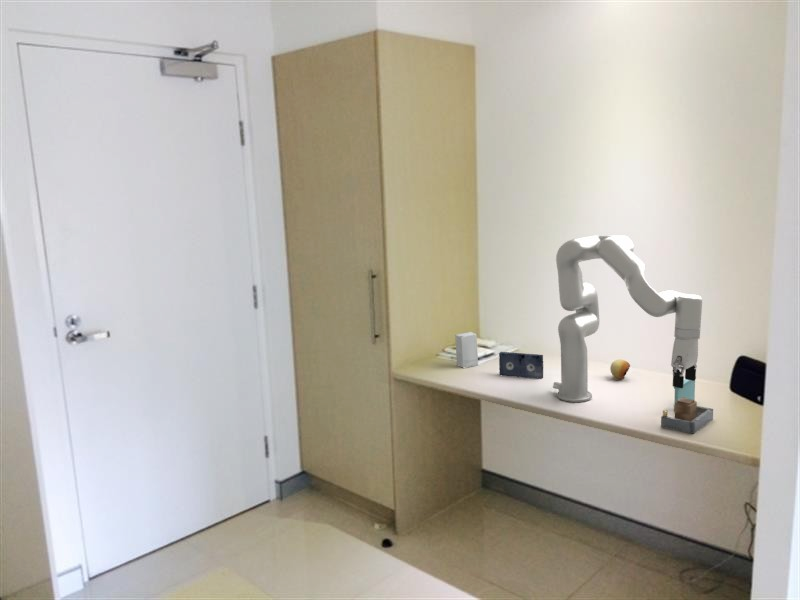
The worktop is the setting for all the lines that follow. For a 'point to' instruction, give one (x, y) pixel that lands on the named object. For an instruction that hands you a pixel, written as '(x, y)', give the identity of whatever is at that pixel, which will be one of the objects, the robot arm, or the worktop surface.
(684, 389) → the flat teal rectangular block
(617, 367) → the fruit
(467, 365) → the skincare box
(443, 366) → the worktop surface
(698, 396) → the worktop surface
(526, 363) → the vhs cassette tape
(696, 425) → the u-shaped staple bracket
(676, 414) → the block
